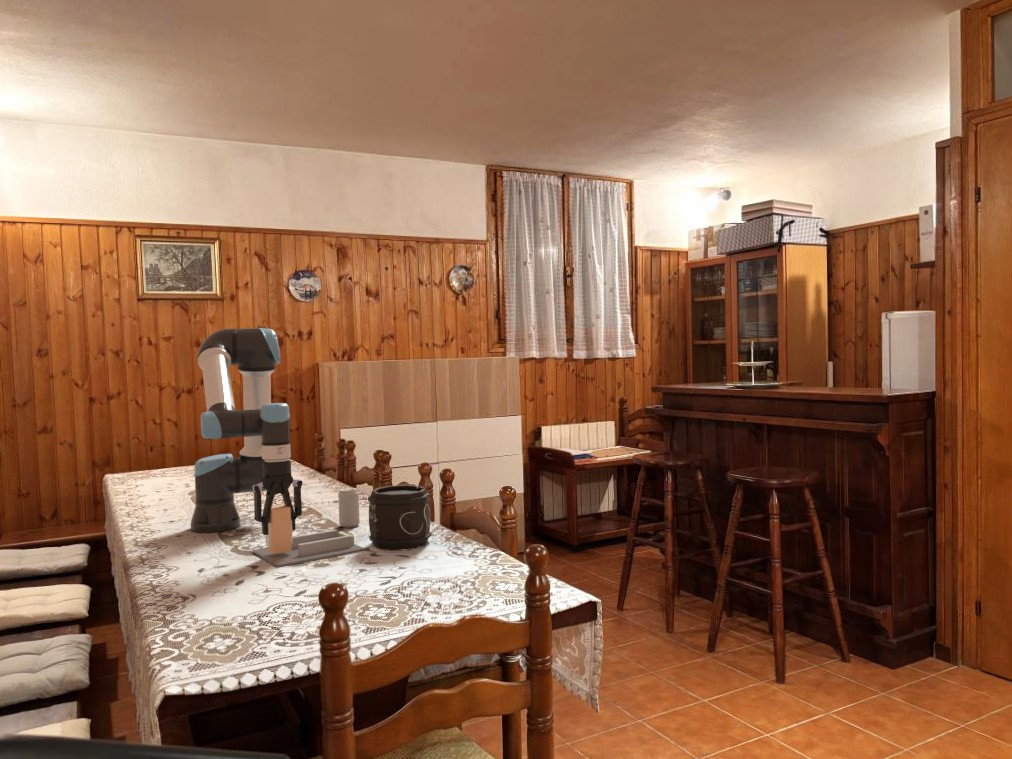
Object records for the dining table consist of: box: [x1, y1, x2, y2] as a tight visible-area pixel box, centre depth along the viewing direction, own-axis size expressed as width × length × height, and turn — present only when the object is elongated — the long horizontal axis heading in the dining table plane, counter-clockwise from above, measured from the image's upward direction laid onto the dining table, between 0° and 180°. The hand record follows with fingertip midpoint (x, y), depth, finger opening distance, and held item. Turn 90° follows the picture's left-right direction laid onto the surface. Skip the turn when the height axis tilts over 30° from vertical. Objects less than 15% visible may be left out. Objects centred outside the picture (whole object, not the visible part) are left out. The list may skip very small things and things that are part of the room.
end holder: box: [252, 529, 366, 568], centre depth 212 cm, size 20×25×4 cm
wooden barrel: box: [367, 484, 432, 551], centre depth 219 cm, size 18×18×16 cm
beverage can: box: [337, 487, 361, 529], centre depth 243 cm, size 6×6×12 cm
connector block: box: [266, 504, 292, 554], centre depth 207 cm, size 5×5×12 cm
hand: (279, 544), depth 207 cm, fingers closed on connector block, 5 cm apart
